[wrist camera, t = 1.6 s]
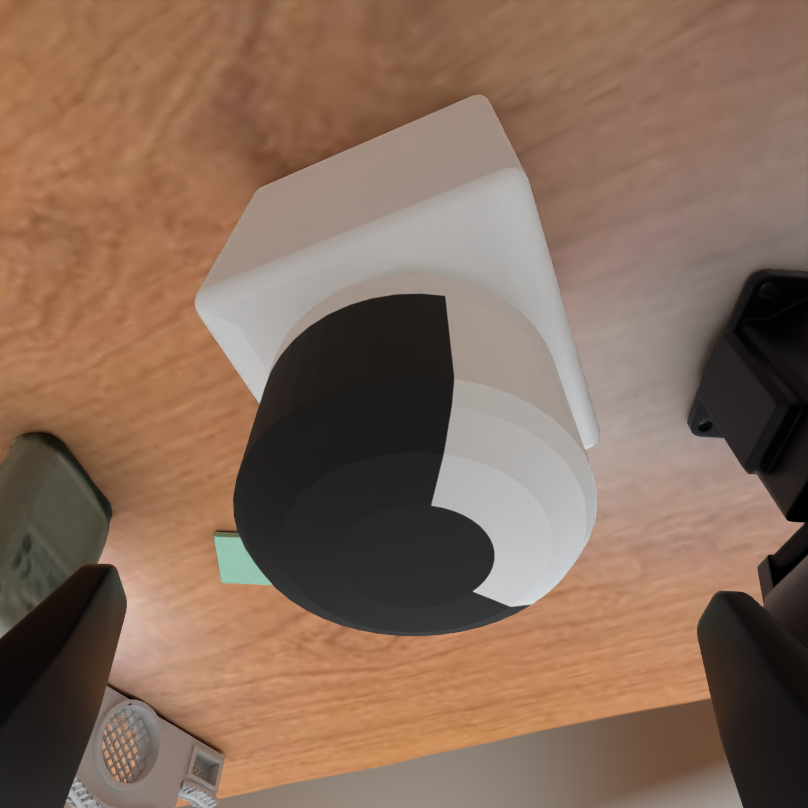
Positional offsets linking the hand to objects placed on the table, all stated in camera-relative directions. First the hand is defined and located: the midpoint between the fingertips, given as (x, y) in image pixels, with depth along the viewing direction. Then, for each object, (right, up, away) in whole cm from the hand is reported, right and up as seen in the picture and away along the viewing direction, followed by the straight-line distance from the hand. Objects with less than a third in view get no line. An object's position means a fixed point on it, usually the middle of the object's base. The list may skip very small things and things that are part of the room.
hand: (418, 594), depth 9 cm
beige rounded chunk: (-14, 0, +16) cm, 21 cm away
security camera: (0, +8, +10) cm, 13 cm away
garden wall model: (-15, -15, +28) cm, 35 cm away
